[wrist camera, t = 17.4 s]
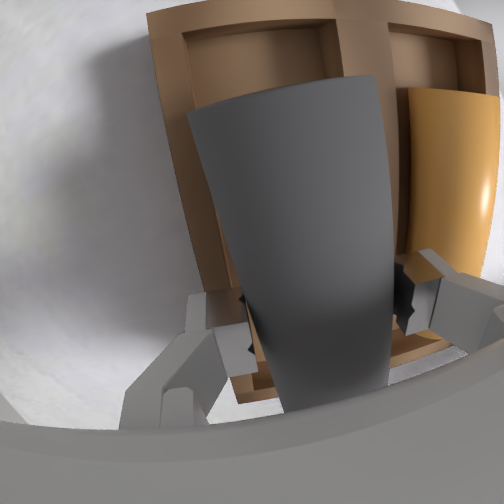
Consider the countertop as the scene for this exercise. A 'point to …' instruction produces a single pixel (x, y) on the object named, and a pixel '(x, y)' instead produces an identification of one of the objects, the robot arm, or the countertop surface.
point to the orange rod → (453, 175)
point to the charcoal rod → (308, 229)
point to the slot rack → (297, 71)
